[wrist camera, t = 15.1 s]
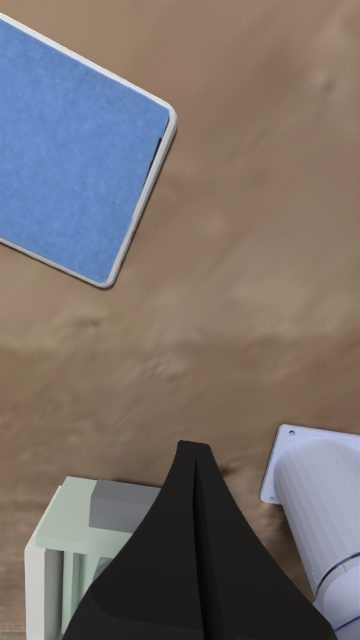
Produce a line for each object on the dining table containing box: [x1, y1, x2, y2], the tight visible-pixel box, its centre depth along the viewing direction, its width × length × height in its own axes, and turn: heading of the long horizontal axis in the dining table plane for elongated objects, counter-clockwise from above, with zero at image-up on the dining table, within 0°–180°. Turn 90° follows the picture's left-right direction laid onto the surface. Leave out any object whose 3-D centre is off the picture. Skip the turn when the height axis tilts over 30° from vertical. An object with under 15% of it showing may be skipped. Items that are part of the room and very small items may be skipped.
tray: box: [36, 476, 161, 634], centre depth 24 cm, size 13×19×5 cm
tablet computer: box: [0, 12, 178, 288], centre depth 18 cm, size 19×13×1 cm, turn 65°
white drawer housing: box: [25, 486, 64, 640], centre depth 24 cm, size 15×16×6 cm
